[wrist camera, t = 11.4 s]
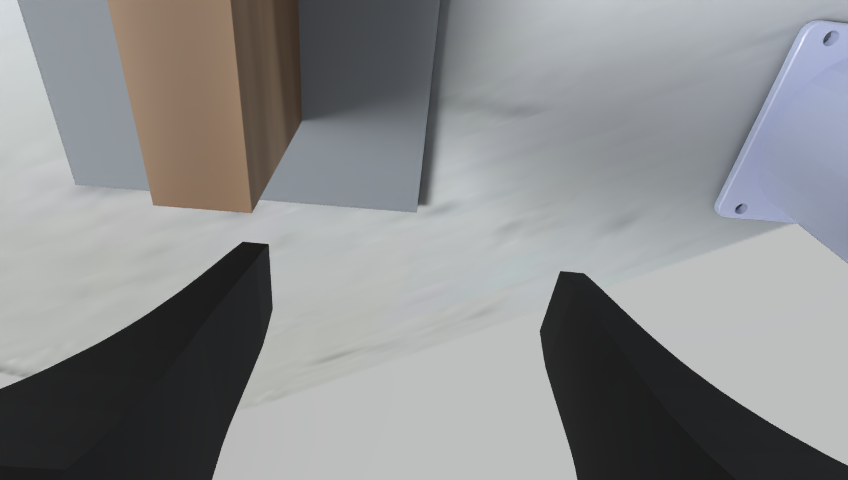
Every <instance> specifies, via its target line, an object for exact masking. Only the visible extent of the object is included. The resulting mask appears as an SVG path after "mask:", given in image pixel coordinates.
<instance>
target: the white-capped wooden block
mask: <svg viewBox="0 0 848 480" xmlns="http://www.w3.org/2000/svg"><path fill="white" fill-rule="evenodd" d="M107 1H108V6H109V10H110V15H111V19H112V24H113V28H114V32H115V37H116V41H117V46H118V50H119V55H120V59H121V64H122V68H123V72H124V77H125V81H126V86H127V90H128V95H129V99H130V104H131V108H132V112H133V117H134V121H135V126H136V130H137V135H138V139H139V143H140V148H141V152H142V157H143V161H144V166H145V170H146V175H147V179H148V183H149V188H150V192H151V197H152V201H153V205H156V206H169V207H181V208H194V209H207V210H219V211H232V212H244V213H252V212H253V210H254V208H255V206H256V205H257V203H258V201H259V199H260V197H261V195H262V194H263V192H264V190H265V188H266V186H267V184H268V183H269V181H270V179H271V177H272V175H273V173H274V172H275V170H276V168H277V166H278V164H279V163H280V161H281V159H282V157H283V155H284V153H285V152H286V150H287V148H288V146H289V144H290V142H291V141H292V139H293V137H294V135H295V133H296V131H297V130H298V128H299V126H300V124H301V122H302V101H301V70H300V39H299V8H298V0H107Z"/></svg>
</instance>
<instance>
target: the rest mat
mask: <svg viewBox="0 0 848 480" xmlns="http://www.w3.org/2000/svg"><path fill="white" fill-rule="evenodd" d="M17 1H18V4H19V7H20V10H21V13H22V16H23V20H24V23H25V26H26V29H27V32H28V35H29V39H30V42H31V45H32V48H33V51H34V54H35V58H36V61H37V64H38V67H39V70H40V73H41V76H42V80H43V83H44V86H45V89H46V92H47V95H48V99H49V102H50V105H51V108H52V111H53V114H54V118H55V121H56V124H57V127H58V130H59V133H60V137H61V140H62V143H63V146H64V149H65V152H66V156H67V159H68V162H69V165H70V168H71V171H72V175H73V178H74V181H75V184H76V185H84V186H97V187H109V188H121V189H133V190H146V191H150V188H149V183H148V179H147V175H146V170H145V166H144V161H143V157H142V152H141V148H140V143H139V139H138V135H137V130H136V126H135V121H134V117H133V112H132V108H131V104H130V99H129V95H128V90H127V86H126V81H125V77H124V72H123V68H122V64H121V59H120V55H119V50H118V46H117V41H116V37H115V32H114V28H113V24H112V19H111V15H110V10H109V6H108V1H107V0H17ZM298 8H299V39H300V70H301V101H302V122H301V124H300V126H299V128H298V130H297V131H296V133H295V135H294V137H293V139H292V141H291V142H290V144H289V146H288V148H287V150H286V152H285V153H284V155H283V157H282V159H281V161H280V163H279V164H278V166H277V168H276V170H275V172H274V173H273V175H272V177H271V179H270V181H269V183H268V184H267V186H266V188H265V190H264V192H263V194H262V195H261V197H260V199H259V200H269V201H281V202H293V203H305V204H318V205H330V206H342V207H354V208H367V209H379V210H391V211H404V212H416V213H417V206H418V197H419V188H420V179H421V170H422V161H423V152H424V143H425V134H426V125H427V116H428V107H429V98H430V89H431V80H432V71H433V62H434V53H435V44H436V35H437V26H438V18H439V9H440V0H298Z"/></svg>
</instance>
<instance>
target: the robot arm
mask: <svg viewBox="0 0 848 480" xmlns="http://www.w3.org/2000/svg"><path fill="white" fill-rule="evenodd" d="M830 31H831V36H830V38H829V39H828V40H827V41H826V42H824V43H823V40H824V37H825V36H826V34H827V33H829V32H830ZM740 204H742V206H741V207H740V208H738V209H735V208H736V207H737V206H738V205H740ZM714 208H715V211H716V212H717V213H718V214H719V215H720V216H722V217H727V218H739V219H751V220H763V221H775V222H787V223H797V224H799V225H800V226H801V227H802V228H804V229H805V230H806V231H807V232H809V233H810V234H811V235H812V236H814V237H815V238H816V239H817V240H819V241H820V242H821V243H823V244H824V245H825V246H826V247H828V248H829V249H830V250H831V251H833V252H834V253H835V254H836V255H838V256H839V257H840V258H841V259H843V260H844V261H845V262H846V263H848V23H840V22H831V21H823V20H814V21H811V22H809V23H807V24H806V25H805V26H804V27H803V28H802V29H801V30H800V32H799V33H798V35H797V37H796V39H795V41H794V43H793V45H792V47H791V49H790V51H789V53H788V56H787V58H786V60H785V62H784V64H783V66H782V68H781V70H780V72H779V74H778V76H777V78H776V80H775V82H774V84H773V86H772V88H771V90H770V92H769V94H768V96H767V98H766V100H765V102H764V105H763V107H762V109H761V111H760V113H759V115H758V117H757V119H756V121H755V123H754V125H753V127H752V129H751V131H750V133H749V135H748V137H747V139H746V141H745V143H744V145H743V147H742V149H741V151H740V154H739V156H738V158H737V160H736V162H735V164H734V166H733V168H732V170H731V172H730V174H729V176H728V178H727V180H726V182H725V184H724V186H723V188H722V190H721V192H720V194H719V196H718V198H717V200H716V203H715V206H714ZM272 309H273V307H272V291H271V275H270V259H269V244H261V243H250V242H242V243H241V244H239V245H238V246H237V247H236V248H234V249H233V250H232V251H230V252H229V253H228V254H227V255H225V256H224V257H223V258H222V259H221V260H219V261H218V262H217V263H216V264H214V265H213V266H212V267H211V268H209V269H208V270H207V271H206V272H204V273H203V274H202V275H201V276H199V277H198V278H197V279H195V280H194V281H193V282H192V283H190V284H189V285H188V286H186V287H185V288H184V289H182V290H181V291H180V292H178V293H177V294H176V295H174V296H173V297H171V298H170V299H168V300H167V301H166V302H164V303H163V304H161V305H160V306H158V307H157V308H156V309H154V310H153V311H151V312H150V313H148V314H147V315H145V316H144V317H142V318H141V319H139V320H137V321H136V322H134V323H132V324H131V325H129V326H128V327H126V328H124V329H122V330H121V331H119V332H117V333H115V334H114V335H112V336H110V337H109V338H107V339H105V340H103V341H101V342H100V343H98V344H96V345H94V346H92V347H90V348H88V349H86V350H84V351H82V352H80V353H78V354H76V355H74V356H72V357H70V358H68V359H66V360H64V361H62V362H60V363H58V364H56V365H54V366H52V367H50V368H48V369H45V370H43V371H41V372H39V373H37V374H34V375H32V376H30V377H27V378H25V379H23V380H21V381H18V382H16V383H14V384H11V385H9V386H6V387H4V388H1V389H0V480H212V478H213V474H214V471H215V468H216V464H217V461H218V458H219V454H220V451H221V447H222V445H223V442H224V439H225V436H226V434H227V431H228V428H229V425H230V423H231V421H232V418H233V416H234V414H235V411H236V409H237V406H238V404H239V402H240V399H241V397H242V395H243V392H244V390H245V387H246V385H247V383H248V380H249V378H250V375H251V373H252V371H253V368H254V366H255V363H256V361H257V359H258V356H259V354H260V351H261V349H262V346H263V343H264V339H265V336H266V332H267V329H268V325H269V321H270V317H271V313H272ZM540 336H541V343H542V349H543V355H544V361H545V366H546V370H547V374H548V377H549V380H550V384H551V387H552V391H553V394H554V397H555V401H556V404H557V407H558V410H559V413H560V416H561V420H562V423H563V426H564V429H565V433H566V436H567V439H568V443H569V446H570V449H571V453H572V457H573V460H574V465H575V469H576V475H577V479H578V480H848V466H847V465H846V464H844V463H841V462H840V461H837V460H835V459H833V458H831V457H830V456H828V455H826V454H824V453H822V452H820V451H818V450H817V449H815V448H813V447H811V446H809V445H808V444H806V443H804V442H802V441H800V440H799V439H797V438H795V437H793V436H791V435H790V434H788V433H786V432H785V431H783V430H781V429H779V428H778V427H776V426H774V425H773V424H771V423H769V422H768V421H766V420H764V419H763V418H761V417H759V416H758V415H757V414H755V413H753V412H752V411H750V410H749V409H747V408H746V407H744V406H742V405H741V404H739V403H738V402H736V401H735V400H733V399H732V398H730V397H729V396H727V395H726V394H724V393H723V392H721V391H720V390H719V389H717V388H716V387H714V386H713V385H712V384H710V383H709V382H708V381H706V380H705V379H703V378H702V377H701V376H700V375H698V374H697V373H695V372H694V371H692V370H691V369H690V368H689V367H688V366H686V365H685V364H683V362H681V361H680V360H679V359H678V358H676V357H675V356H674V355H673V354H672V353H670V352H669V351H668V350H667V349H666V348H664V347H663V346H662V345H661V344H660V343H658V342H657V341H656V340H655V339H654V338H653V337H652V336H651V335H650V334H648V333H647V332H646V331H645V330H644V329H643V328H642V327H641V326H640V325H638V324H637V323H636V322H635V321H634V320H633V319H632V318H631V317H630V316H629V315H628V314H627V313H626V312H625V311H624V310H623V309H621V308H620V307H619V306H618V305H617V304H616V303H615V302H614V301H613V300H612V299H611V298H610V297H609V296H608V295H607V294H606V293H605V292H604V291H603V290H602V289H601V288H600V287H599V286H598V285H596V284H595V283H594V282H593V281H592V280H591V279H590V278H589V277H588V276H586V275H585V274H584V273H574V272H563V271H560V274H559V276H558V279H557V282H556V285H555V288H554V291H553V294H552V297H551V300H550V303H549V306H548V309H547V312H546V315H545V317H544V320H543V323H542V326H541V329H540Z"/></svg>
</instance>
